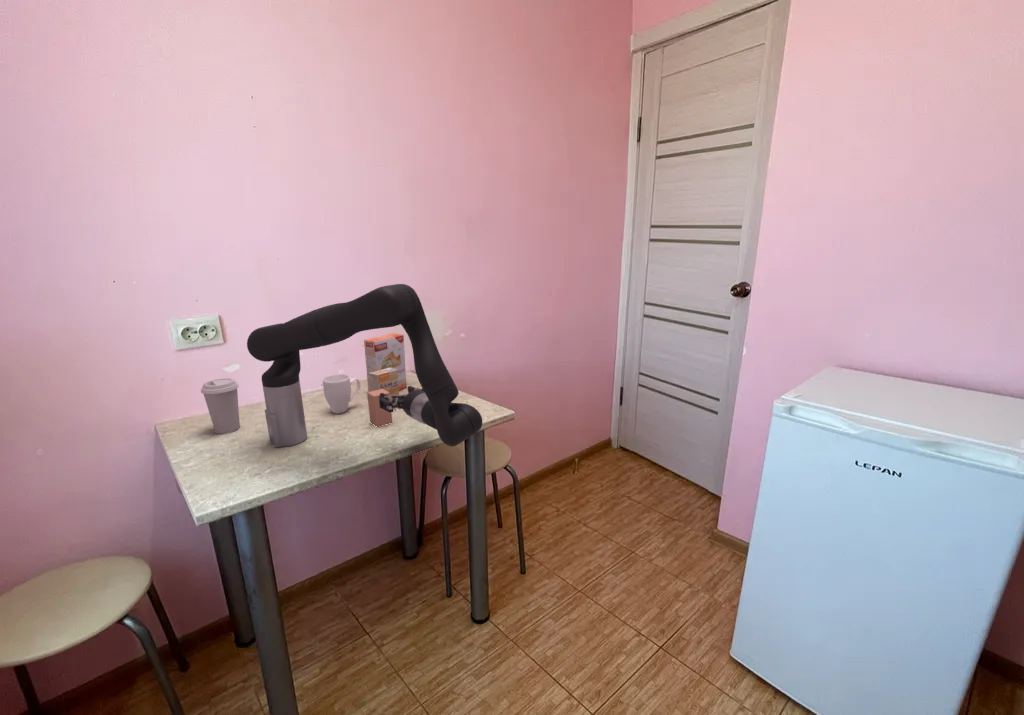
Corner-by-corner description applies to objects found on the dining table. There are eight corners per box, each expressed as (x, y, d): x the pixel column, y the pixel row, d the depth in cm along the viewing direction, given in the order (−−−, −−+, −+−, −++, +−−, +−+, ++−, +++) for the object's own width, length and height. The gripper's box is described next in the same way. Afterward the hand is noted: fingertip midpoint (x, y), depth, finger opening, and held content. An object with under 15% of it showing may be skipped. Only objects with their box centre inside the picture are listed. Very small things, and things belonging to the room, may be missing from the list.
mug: (333, 417, 147) (329, 383, 144) (322, 411, 153) (318, 378, 150) (367, 407, 156) (364, 375, 153) (355, 401, 161) (352, 370, 158)
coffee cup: (212, 425, 142) (203, 379, 138) (247, 421, 146) (239, 375, 142) (205, 438, 134) (195, 389, 130) (243, 432, 137) (234, 384, 133)
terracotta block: (377, 427, 139) (374, 396, 137) (370, 422, 143) (367, 392, 141) (392, 423, 143) (389, 392, 140) (385, 418, 146) (382, 388, 144)
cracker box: (379, 398, 164) (374, 341, 159) (368, 395, 167) (362, 339, 162) (408, 388, 175) (404, 334, 170) (396, 385, 179) (392, 332, 173)
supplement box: (380, 413, 151) (377, 374, 147) (371, 410, 154) (368, 372, 150) (400, 405, 157) (398, 369, 154) (391, 403, 160) (388, 366, 157)
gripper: (446, 387, 123) (416, 375, 135) (397, 400, 114) (370, 385, 126) (448, 413, 125) (418, 399, 137) (400, 428, 116) (372, 411, 128)
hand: (395, 392), depth 131 cm, fingers open, 8 cm apart
